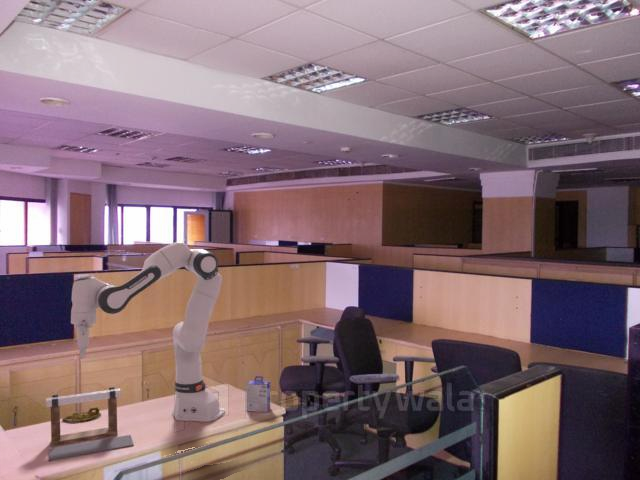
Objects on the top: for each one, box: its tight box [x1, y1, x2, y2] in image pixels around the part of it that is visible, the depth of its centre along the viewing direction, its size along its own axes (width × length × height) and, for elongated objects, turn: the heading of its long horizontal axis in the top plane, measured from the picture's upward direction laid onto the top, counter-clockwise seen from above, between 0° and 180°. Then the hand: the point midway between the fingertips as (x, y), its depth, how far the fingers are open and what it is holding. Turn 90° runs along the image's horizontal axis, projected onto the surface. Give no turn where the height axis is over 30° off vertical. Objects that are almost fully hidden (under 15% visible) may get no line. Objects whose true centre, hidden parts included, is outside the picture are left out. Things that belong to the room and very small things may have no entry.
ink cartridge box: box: [245, 375, 271, 413], centre depth 229 cm, size 10×6×14 cm, turn 81°
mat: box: [48, 434, 134, 462], centre depth 191 cm, size 28×10×1 cm, turn 116°
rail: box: [45, 387, 122, 408], centre depth 200 cm, size 26×3×2 cm, turn 116°
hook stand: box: [50, 386, 119, 448], centre depth 200 cm, size 23×6×18 cm, turn 116°
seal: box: [61, 406, 102, 424], centre depth 220 cm, size 9×5×15 cm
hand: (82, 354), depth 200 cm, fingers open, 8 cm apart
